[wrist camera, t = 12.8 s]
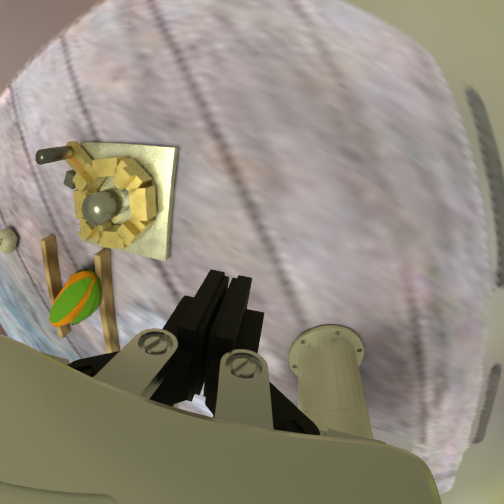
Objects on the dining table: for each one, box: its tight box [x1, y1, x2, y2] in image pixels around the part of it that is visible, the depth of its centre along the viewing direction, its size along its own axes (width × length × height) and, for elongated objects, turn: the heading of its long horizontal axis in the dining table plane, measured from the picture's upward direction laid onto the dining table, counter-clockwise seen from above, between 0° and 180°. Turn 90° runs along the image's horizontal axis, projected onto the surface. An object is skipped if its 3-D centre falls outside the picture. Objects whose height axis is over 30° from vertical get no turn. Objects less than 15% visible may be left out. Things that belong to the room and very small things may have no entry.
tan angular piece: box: [36, 141, 157, 249], centre depth 34 cm, size 18×12×8 cm
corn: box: [49, 270, 101, 327], centre depth 44 cm, size 7×8×20 cm
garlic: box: [0, 228, 18, 254], centre depth 43 cm, size 6×5×5 cm
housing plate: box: [64, 142, 179, 261], centre depth 36 cm, size 16×17×8 cm
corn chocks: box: [41, 235, 120, 353], centre depth 46 cm, size 22×14×3 cm, turn 171°
